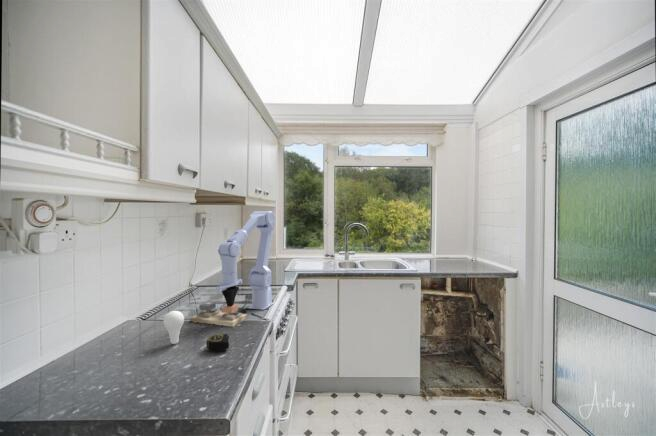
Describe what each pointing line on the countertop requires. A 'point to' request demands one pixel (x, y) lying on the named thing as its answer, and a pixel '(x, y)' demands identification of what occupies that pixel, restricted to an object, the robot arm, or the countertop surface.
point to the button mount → (219, 318)
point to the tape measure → (217, 342)
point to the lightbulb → (174, 325)
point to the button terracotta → (230, 308)
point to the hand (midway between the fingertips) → (230, 305)
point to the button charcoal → (207, 306)
